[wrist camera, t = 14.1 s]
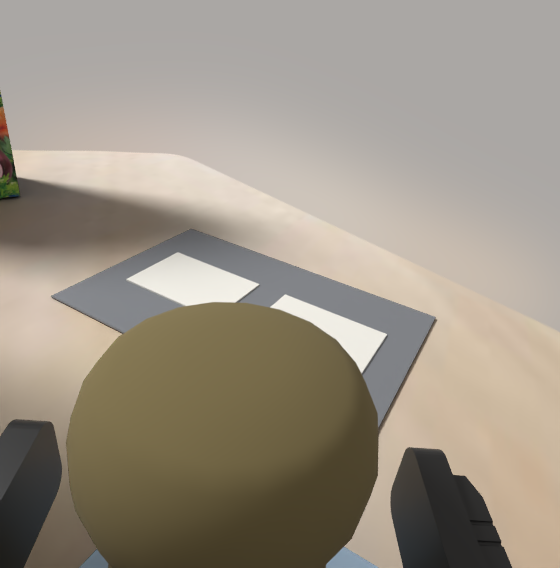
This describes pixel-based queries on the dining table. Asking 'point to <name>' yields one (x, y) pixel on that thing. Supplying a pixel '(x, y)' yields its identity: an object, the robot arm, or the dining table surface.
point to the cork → (222, 442)
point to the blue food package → (6, 161)
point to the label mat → (257, 301)
